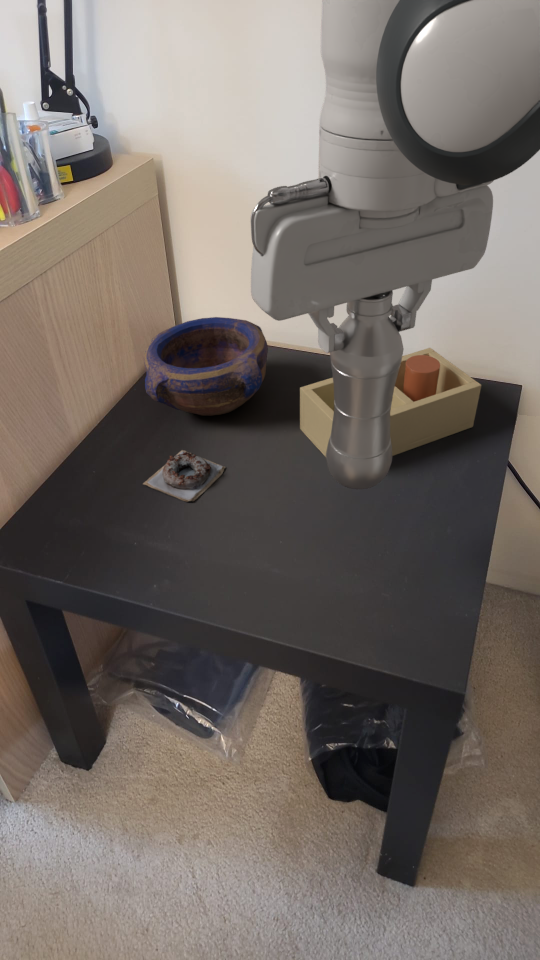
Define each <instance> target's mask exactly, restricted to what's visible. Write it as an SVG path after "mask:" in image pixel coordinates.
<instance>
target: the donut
mask: <svg viewBox="0 0 540 960" xmlns="http://www.w3.org/2000/svg"><path fill="white" fill-rule="evenodd" d="M225 469H226V466H224V465H222V464H219V463H217V462H214V461H211V460H209V459H206V458H205V457H204V458H203V457H202V456H199V455H197V454H194V453H193V452H188V451H187V450H183V449H181V450H180V451H179V452H178V453H177V454H175V455H169V458H168V459H167V462H166V463H165V464H164V465H163V466H162V467H160V468H159V469H158V470H157V471H155V472H154V473H153V474H152V475H151V476H150V477H148V479H147V480H145V481H144V482H143V483H142V485H144V486H147V487H149V488H151V489H154V490H156V491H158V492H161V493H163V494H166V495H168V496H171V497H173V498H176V499H178V500H180V501H183V502H185V503H186V502H195V501H196V500H197V499H198V498H199V497H201V495H202V494H203V493H205V492H206V491H207V490H208V489H209V488H210V487H211V486H212V485H213V484H214V483H215V482H216V481H217V480H218V479H219V478H220V477H221V476H222V475H223V472H224V471H225Z"/></svg>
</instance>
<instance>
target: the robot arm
mask: <svg viewBox="0 0 540 960" xmlns="http://www.w3.org/2000/svg"><path fill="white" fill-rule="evenodd" d="M320 17H321V18H320V56H321V61H322V64H323V69H324V76H325V91H324V98H323V102H322V105H321V109H320V113H319V119H318V120H319V121H318V123H319V124H318V171H317V172H318V173H317V174H318V177H317V178H316V179H311V180H306V181H303V182H300V183H297V184H293V185H290V186H287V185H280V186H277V187H274V188H272V189H270V190H268V191H267V195H265V196H264V197H263V198H261V199H259V201H258V202H257V203H256V204H255V206H254V207H253V209H252V211H251V214H250V237H251V243H252V246H253V247H252V255H251V256H252V257H251V265H250V266H251V267H250V294H251V295H250V296H251V298H252V300H253V301H254V303H255V304H256V305H257V307H258V308H259V309H261V311H263V312H264V313H265V314H266V315H268V316H269V317H271V318H272V319H273V320H275V321H280V322H281V321H285V320H289V319H293V318H296V317H300V316H303V315H308V316H309V317H310V319H311V320H312V323H314V325H315V326H316V328H317V342H318V343H317V344H318V346H319V348H320V349H321V350H322V351H323V352H324V353H325V354H330V352H334V351H337V350H340V349H343V347H344V343H343V340H344V331H343V330H342V329H340V328H339V327H338V325H337V324H335V323H334V322H330V321H329V319H331V318H333V317H334V316H335V307H336V306H337V307H338V306H340V305H344V304H347V303H348V302H351V301H355V300H359V299H362V298H366V297H370V296H373V295H377V294H381V293H384V292H388V291H392V290H393V291H395V290H398V289H402V288H405V289H404V291H403V293H402V295H401V298H400V300H399V302H398V304H395V305H393V309H392V313H391V315H390V316H389V318H390V319H391V320H392V322H393V323H394V325H395V326H396V328H397V330H398V332H399V333H400V332H404V331H407V330H410V329H414V328H415V326H416V319H417V312H418V311H419V310H420V308H421V306H422V305H423V303H424V301H425V300H426V299H427V297H428V295H429V294H430V292H431V291H432V285H433V280H436V279H439V278H444V277H446V276H450V275H454V274H457V273H461V272H466V271H469V270H472V269H474V268H476V266H477V265H478V264H479V263H480V261H481V260H482V258H483V257H484V255H485V253H486V250H487V247H488V242H489V237H490V232H491V225H492V218H493V209H494V195H493V191H492V189H491V188H490V187H489V185H490V184H492V183H494V181H496V180H498V179H501V178H503V177H506V176H509V175H510V174H512V173H513V172H515V171H516V170H518V169H519V168H521V167H522V166H524V165H525V164H526V163H528V161H530V160H531V159H532V158H533V157H534V156H535V155H536V154H537V153H538V152H539V151H540V0H321V15H320Z"/></svg>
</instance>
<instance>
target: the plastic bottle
mask: <svg viewBox="0 0 540 960" xmlns="http://www.w3.org/2000/svg"><path fill="white" fill-rule="evenodd" d="M393 291H394V290H392V291H388V292H384V293H381V294H377V295H373V296H370V297H366V298H362V299H359V300H355V301H351V302H348V303H346V309H345V311H346V313H347V317H346V318H345V319H344V320H343V321H342V322H341V324H340V325H339V326H338V328H340V329H342V330H343V331H344V340H343V343H344V347H343V349H340V350H337V351H334V352H330V353H329V357H330V366H331V374H332V378H333V383H334V415H333V423H332V430H331V435H330V438H329V442H328V446H327V452H326V457H325V460H326V464H327V470H328V473H329V474H330V476H331V477H332V478H333V480H334V481H336V482H337V484H339V485H341V486H343V487H345V488H348V489H352V490H367V489H370V488H373V487H375V486H377V485H379V483H381V482H382V481H384V479H386V477H387V476H388V474H389V471H390V468H391V466H392V462H393V456H392V444H391V438H390V410H391V404H392V398H393V392H394V387H395V383H396V379H397V376H398V372H399V368H400V364H401V361H402V356H404V344H403V339H402V335H401V334H400V332H398V330H397V328H396V326H395V325H394V323H393V322H392V320H391V319H390V317H391V313H392V309H393V306H394V305H393V294H394V293H393Z"/></svg>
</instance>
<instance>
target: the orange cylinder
mask: <svg viewBox="0 0 540 960" xmlns="http://www.w3.org/2000/svg"><path fill="white" fill-rule="evenodd" d="M439 371H440V362H439V361H438V360H437V359H435V358H434V357H431V356H427V355H416V356H412V357H410V358H408V359H407V361H406V366H405V374H404V383H403V393H404V394H405V395H406V396H407V397H408V398H410V399H411V400H412V401H413V402H415V401H418V400H421V399H424V398H427V397H430V396H433V395H436V391H437V384H438V378H439Z"/></svg>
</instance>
